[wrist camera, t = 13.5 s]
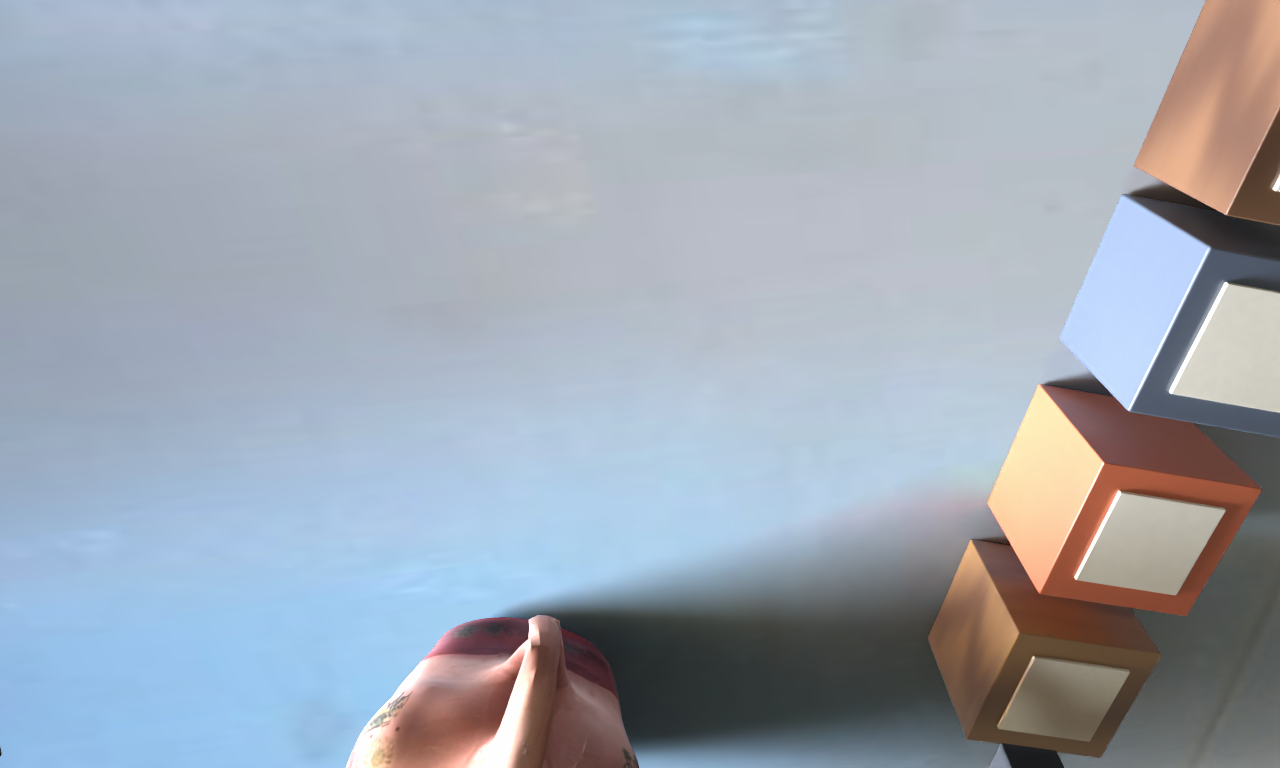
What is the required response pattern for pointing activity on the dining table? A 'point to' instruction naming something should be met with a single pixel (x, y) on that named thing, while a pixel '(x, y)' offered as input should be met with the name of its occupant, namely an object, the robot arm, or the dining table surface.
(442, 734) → the ceramic mug
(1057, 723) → the oak block
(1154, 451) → the terracotta block
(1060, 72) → the dining table surface
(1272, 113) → the walnut block
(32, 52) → the dining table surface
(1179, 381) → the slate block
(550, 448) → the dining table surface
